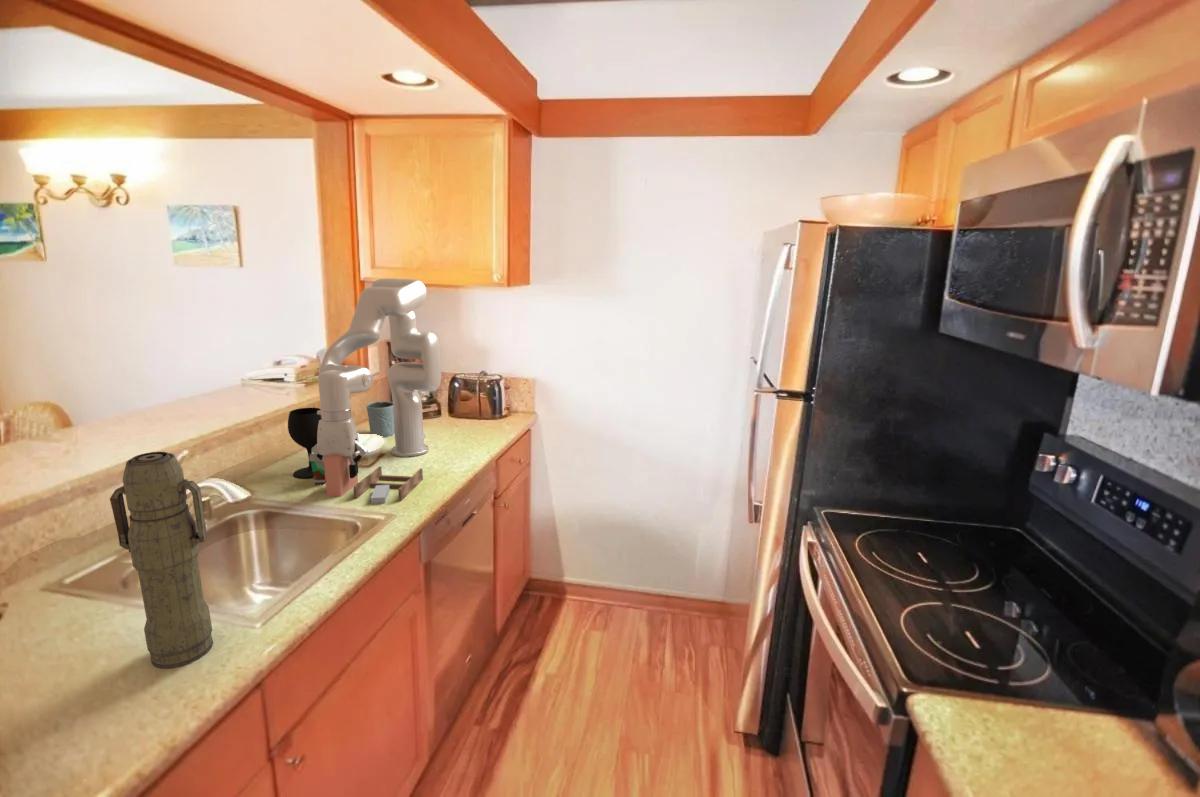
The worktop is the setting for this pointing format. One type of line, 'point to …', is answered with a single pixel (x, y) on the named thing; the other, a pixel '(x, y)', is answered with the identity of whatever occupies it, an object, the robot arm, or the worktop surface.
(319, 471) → the food container
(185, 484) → the thermos
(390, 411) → the blue-grey embossed cup
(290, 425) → the wine glass
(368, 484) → the rack
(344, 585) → the worktop surface
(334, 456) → the pink slab
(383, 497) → the offcut upper
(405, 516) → the worktop surface
